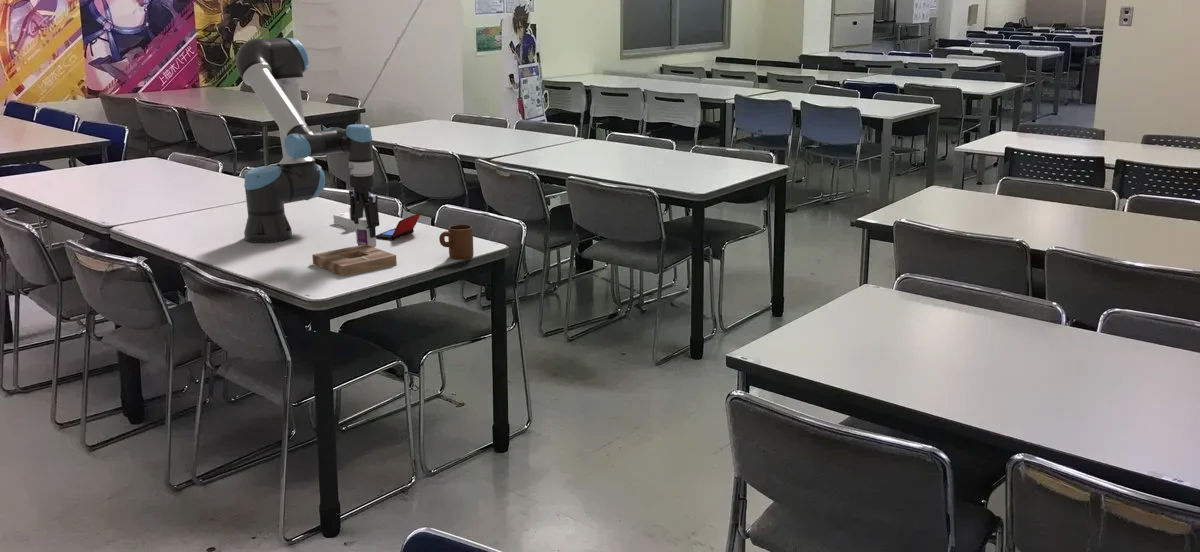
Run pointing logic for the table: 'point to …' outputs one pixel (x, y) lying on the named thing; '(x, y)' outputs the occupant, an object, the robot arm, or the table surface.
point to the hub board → (354, 260)
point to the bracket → (345, 219)
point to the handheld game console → (400, 228)
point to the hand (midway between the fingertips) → (366, 244)
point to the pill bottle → (362, 231)
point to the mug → (458, 241)
